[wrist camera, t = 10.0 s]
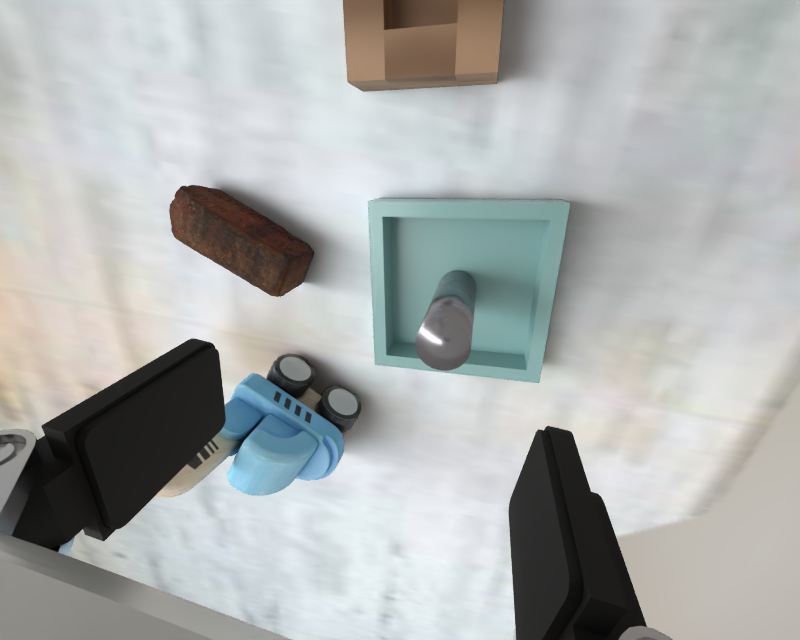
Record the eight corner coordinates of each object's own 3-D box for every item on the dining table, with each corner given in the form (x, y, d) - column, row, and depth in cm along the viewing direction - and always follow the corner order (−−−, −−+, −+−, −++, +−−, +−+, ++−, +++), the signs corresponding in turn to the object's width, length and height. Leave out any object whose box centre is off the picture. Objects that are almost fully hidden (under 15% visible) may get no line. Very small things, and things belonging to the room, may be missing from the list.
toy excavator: (233, 308, 34) (27, 422, 19) (375, 403, 35) (286, 587, 20) (209, 367, 38) (22, 501, 23) (337, 451, 39) (238, 637, 23)
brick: (319, 245, 30) (291, 258, 26) (303, 284, 32) (275, 301, 27) (212, 182, 30) (166, 184, 26) (202, 224, 32) (158, 232, 27)
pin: (439, 269, 27) (415, 318, 18) (478, 271, 27) (472, 323, 18) (437, 305, 29) (414, 367, 20) (475, 307, 28) (468, 373, 19)
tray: (380, 198, 27) (368, 201, 24) (561, 199, 24) (570, 203, 21) (384, 348, 32) (375, 364, 29) (534, 363, 29) (539, 383, 27)
